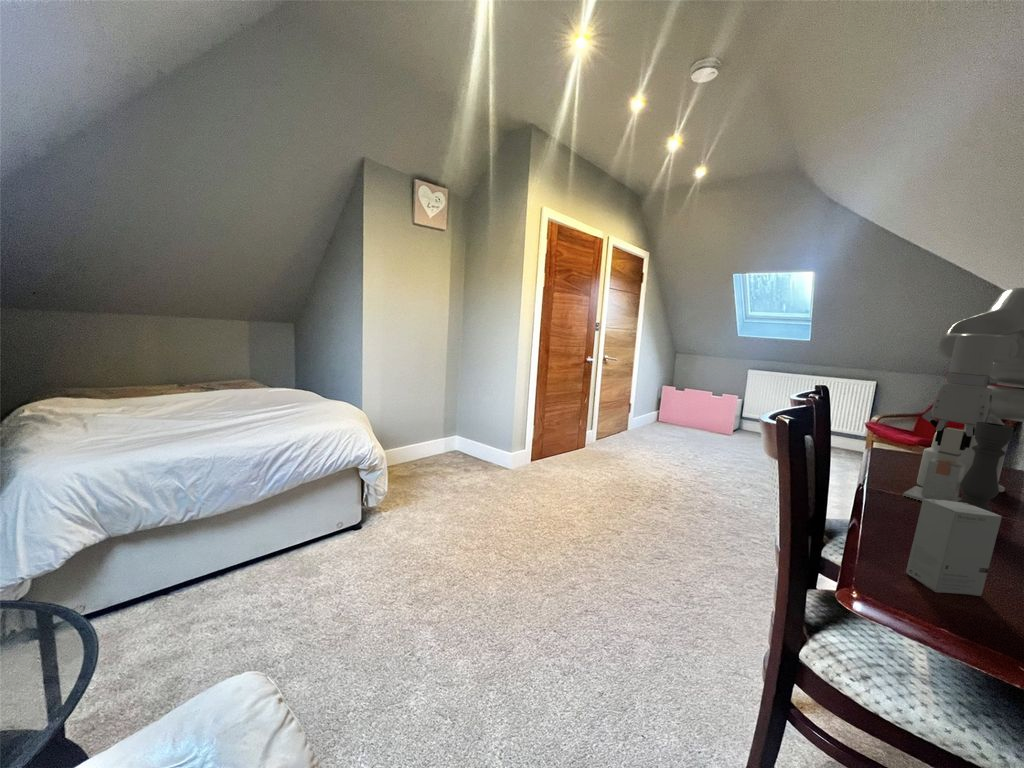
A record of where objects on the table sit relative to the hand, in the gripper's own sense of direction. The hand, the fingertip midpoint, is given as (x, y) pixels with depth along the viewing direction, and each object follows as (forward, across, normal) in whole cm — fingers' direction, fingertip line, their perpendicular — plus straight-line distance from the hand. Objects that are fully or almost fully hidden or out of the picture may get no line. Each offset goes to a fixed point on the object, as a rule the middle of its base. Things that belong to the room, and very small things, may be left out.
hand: (951, 446), depth 111 cm
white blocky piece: (+16, 0, 0) cm, 16 cm away
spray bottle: (+16, +4, -14) cm, 22 cm away
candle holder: (+16, -8, +14) cm, 23 cm away
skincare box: (+16, -11, +57) cm, 60 cm away
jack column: (+13, 0, 0) cm, 13 cm away
